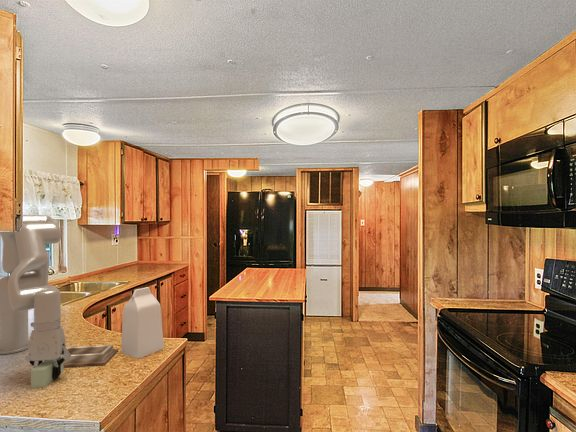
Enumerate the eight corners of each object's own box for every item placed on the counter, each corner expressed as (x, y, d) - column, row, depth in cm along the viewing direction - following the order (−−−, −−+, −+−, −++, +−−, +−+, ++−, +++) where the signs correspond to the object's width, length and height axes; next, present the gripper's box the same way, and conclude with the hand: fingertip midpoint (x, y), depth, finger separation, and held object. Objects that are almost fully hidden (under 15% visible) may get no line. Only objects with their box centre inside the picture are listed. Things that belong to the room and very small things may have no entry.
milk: (138, 358, 131) (137, 293, 131) (121, 352, 137) (120, 289, 137) (163, 348, 141) (163, 287, 141) (147, 343, 147) (146, 284, 147)
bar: (31, 388, 109) (31, 370, 109) (51, 371, 121) (51, 355, 121) (44, 387, 109) (44, 369, 109) (63, 371, 121) (63, 354, 121)
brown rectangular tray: (47, 368, 123) (47, 359, 123) (66, 354, 136) (66, 345, 136) (104, 365, 125) (104, 356, 125) (118, 351, 138) (118, 343, 138)
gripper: (13, 330, 110) (14, 384, 110) (67, 327, 112) (68, 381, 112) (28, 323, 118) (29, 374, 118) (79, 320, 120) (79, 371, 120)
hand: (48, 377), depth 115 cm, fingers open, 4 cm apart
